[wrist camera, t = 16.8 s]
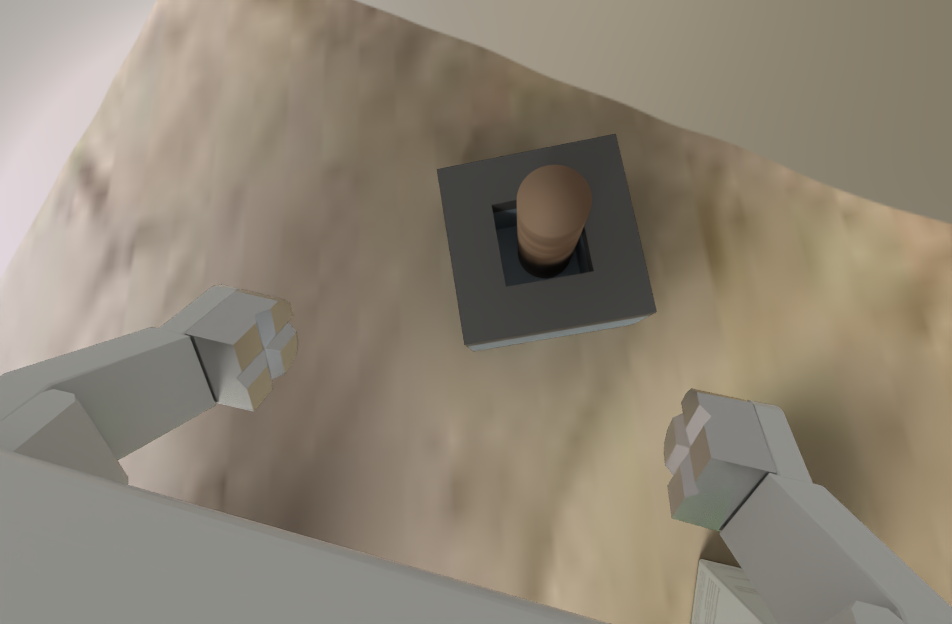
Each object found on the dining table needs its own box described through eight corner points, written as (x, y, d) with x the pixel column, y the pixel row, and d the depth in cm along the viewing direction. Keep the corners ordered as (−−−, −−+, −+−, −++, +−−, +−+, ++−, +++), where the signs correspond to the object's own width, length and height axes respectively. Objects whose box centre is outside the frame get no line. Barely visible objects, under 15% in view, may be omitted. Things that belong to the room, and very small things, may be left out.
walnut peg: (522, 282, 34) (523, 241, 24) (513, 231, 35) (510, 172, 25) (576, 272, 34) (598, 228, 24) (565, 222, 35) (583, 158, 25)
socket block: (474, 351, 35) (464, 344, 29) (450, 203, 37) (436, 169, 31) (633, 324, 34) (656, 311, 28) (600, 174, 36) (615, 133, 30)
